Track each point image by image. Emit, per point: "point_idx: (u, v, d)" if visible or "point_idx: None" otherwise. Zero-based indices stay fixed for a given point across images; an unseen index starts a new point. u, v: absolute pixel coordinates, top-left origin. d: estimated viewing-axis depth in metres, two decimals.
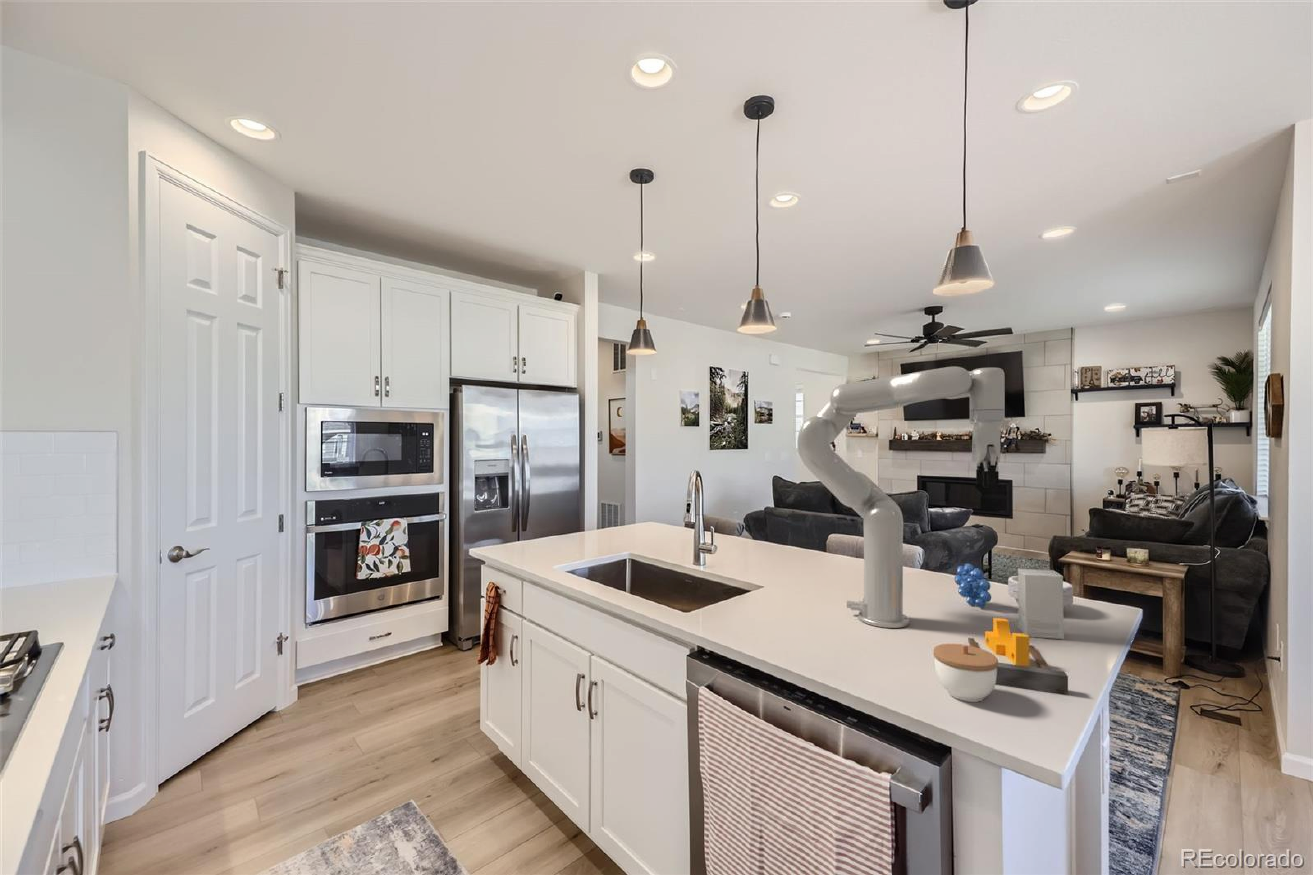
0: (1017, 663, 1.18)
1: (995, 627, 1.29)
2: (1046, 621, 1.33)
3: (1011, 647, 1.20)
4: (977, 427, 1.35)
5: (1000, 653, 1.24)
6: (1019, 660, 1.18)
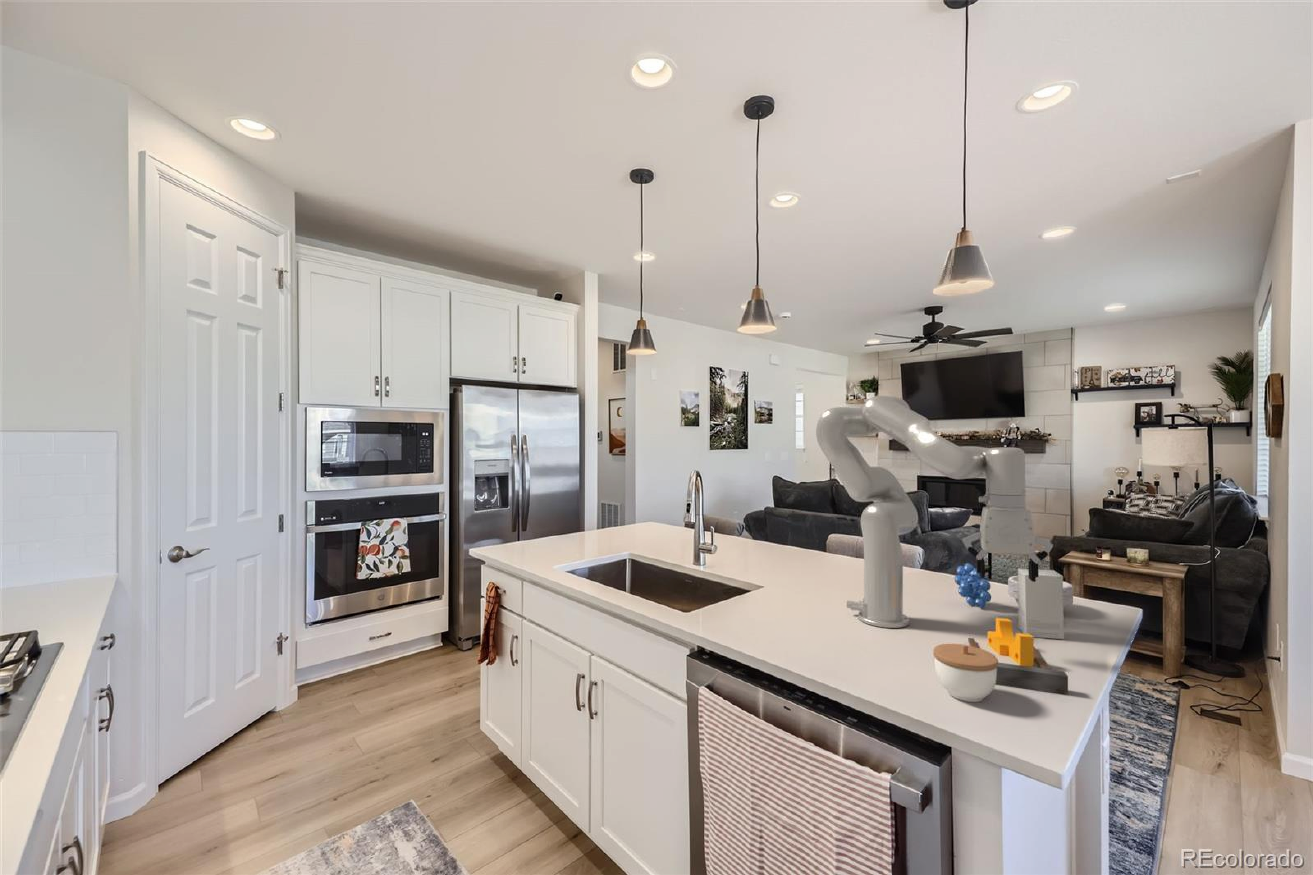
0: (1021, 663, 1.18)
1: (998, 627, 1.28)
2: (1046, 621, 1.33)
3: (1015, 648, 1.20)
4: (1024, 515, 1.20)
5: (1003, 653, 1.24)
6: (1023, 660, 1.18)
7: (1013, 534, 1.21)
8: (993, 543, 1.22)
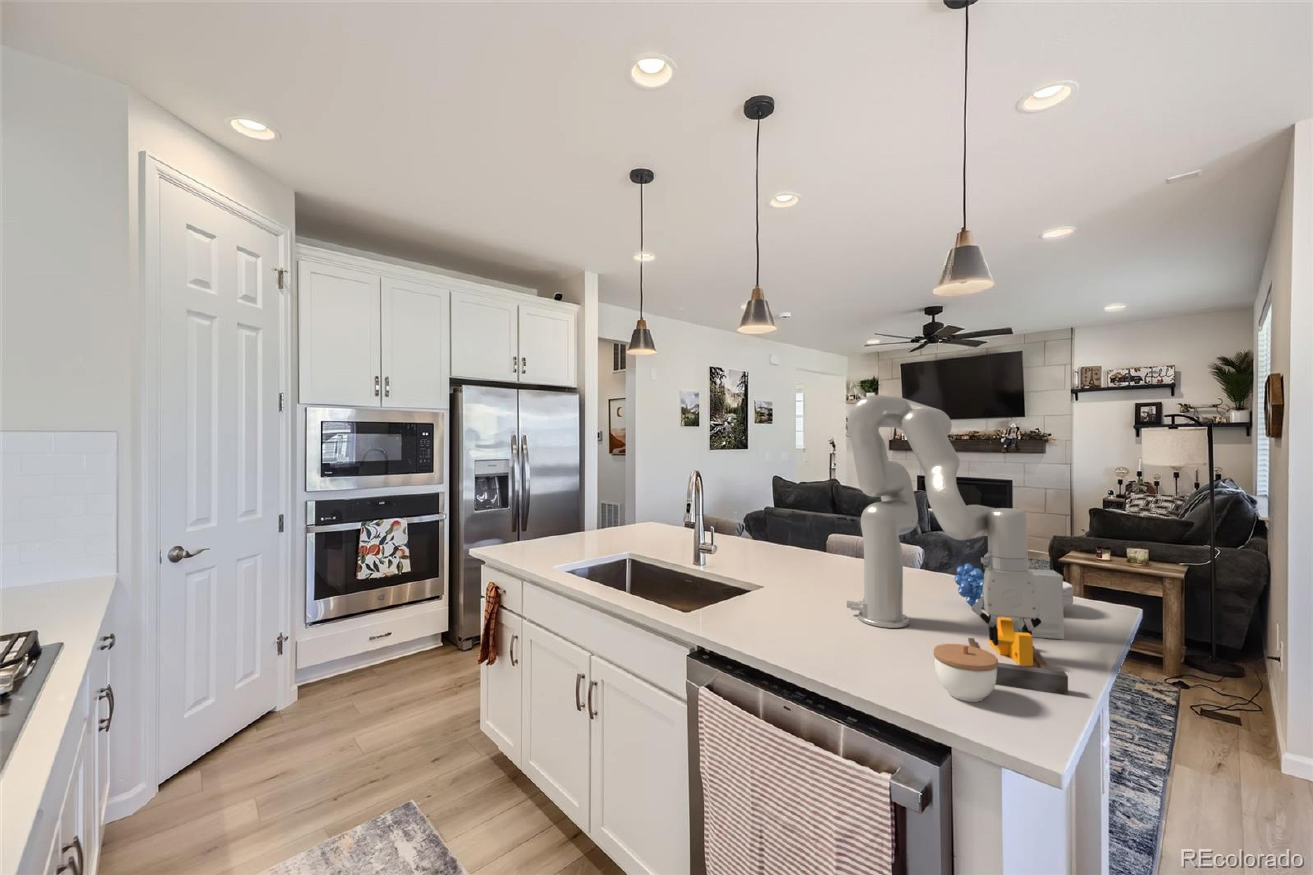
0: (1021, 662, 1.18)
1: (999, 626, 1.28)
2: (1046, 620, 1.33)
3: (1014, 647, 1.20)
4: (1027, 578, 1.20)
5: (1004, 652, 1.23)
6: (1023, 659, 1.18)
7: (1016, 597, 1.20)
8: (996, 606, 1.22)
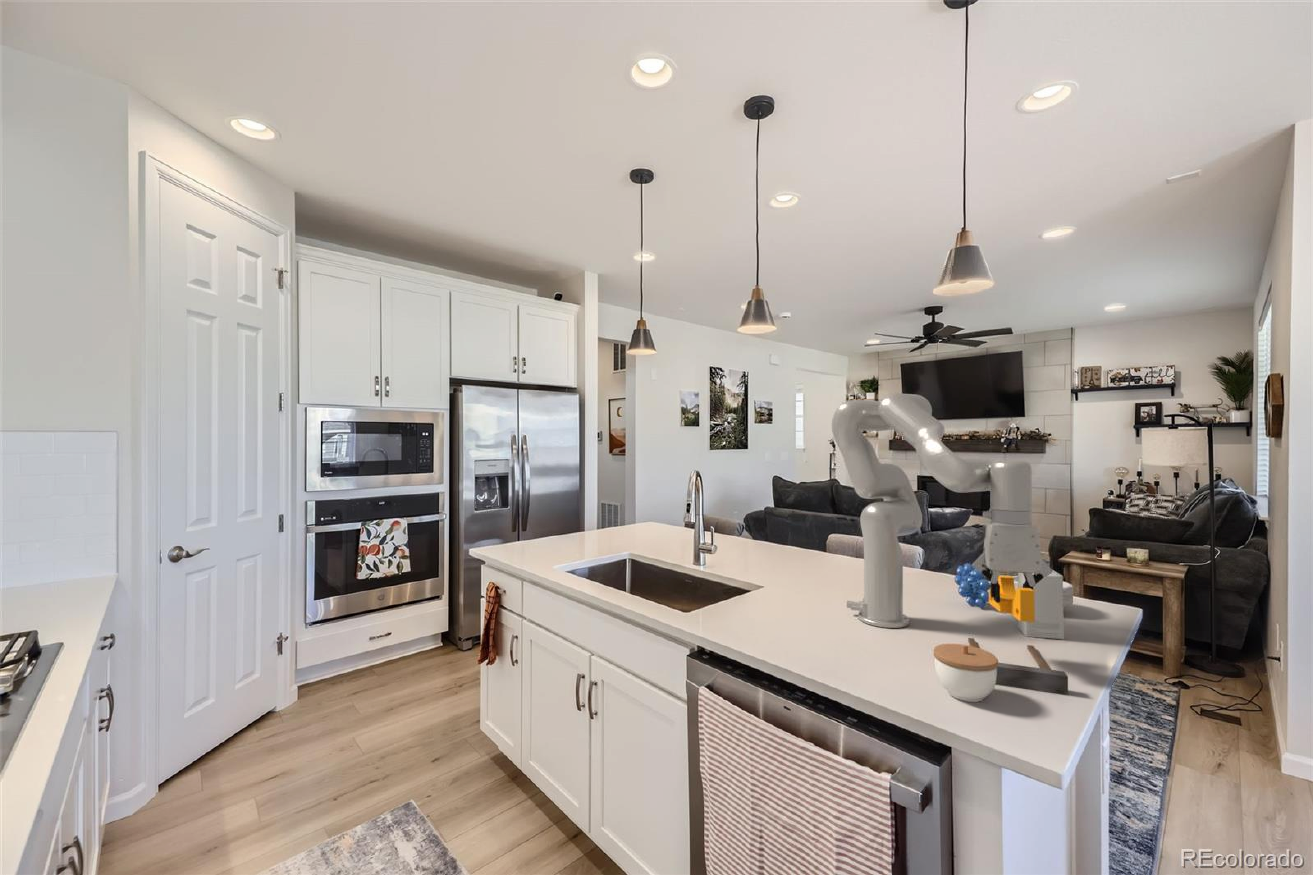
0: (1022, 618, 1.13)
1: None
2: (1046, 621, 1.33)
3: (1015, 603, 1.15)
4: (1031, 531, 1.15)
5: (1004, 610, 1.19)
6: (1024, 615, 1.13)
7: (1019, 551, 1.16)
8: (998, 561, 1.17)
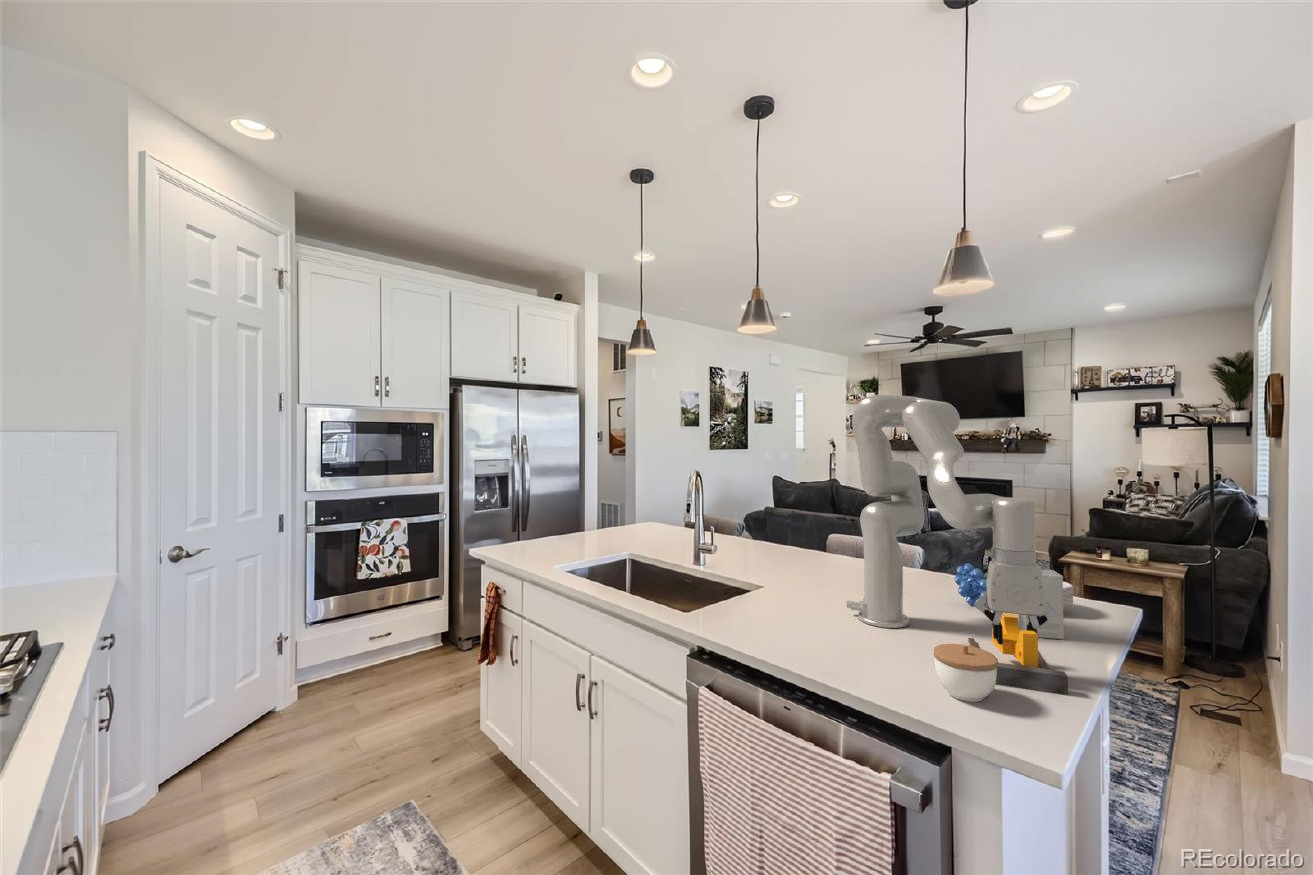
0: (1024, 662, 1.10)
1: (1003, 624, 1.20)
2: (1046, 621, 1.33)
3: (1018, 646, 1.12)
4: (1034, 572, 1.12)
5: (1007, 651, 1.16)
6: (1027, 659, 1.10)
7: (1022, 593, 1.12)
8: (1000, 602, 1.14)
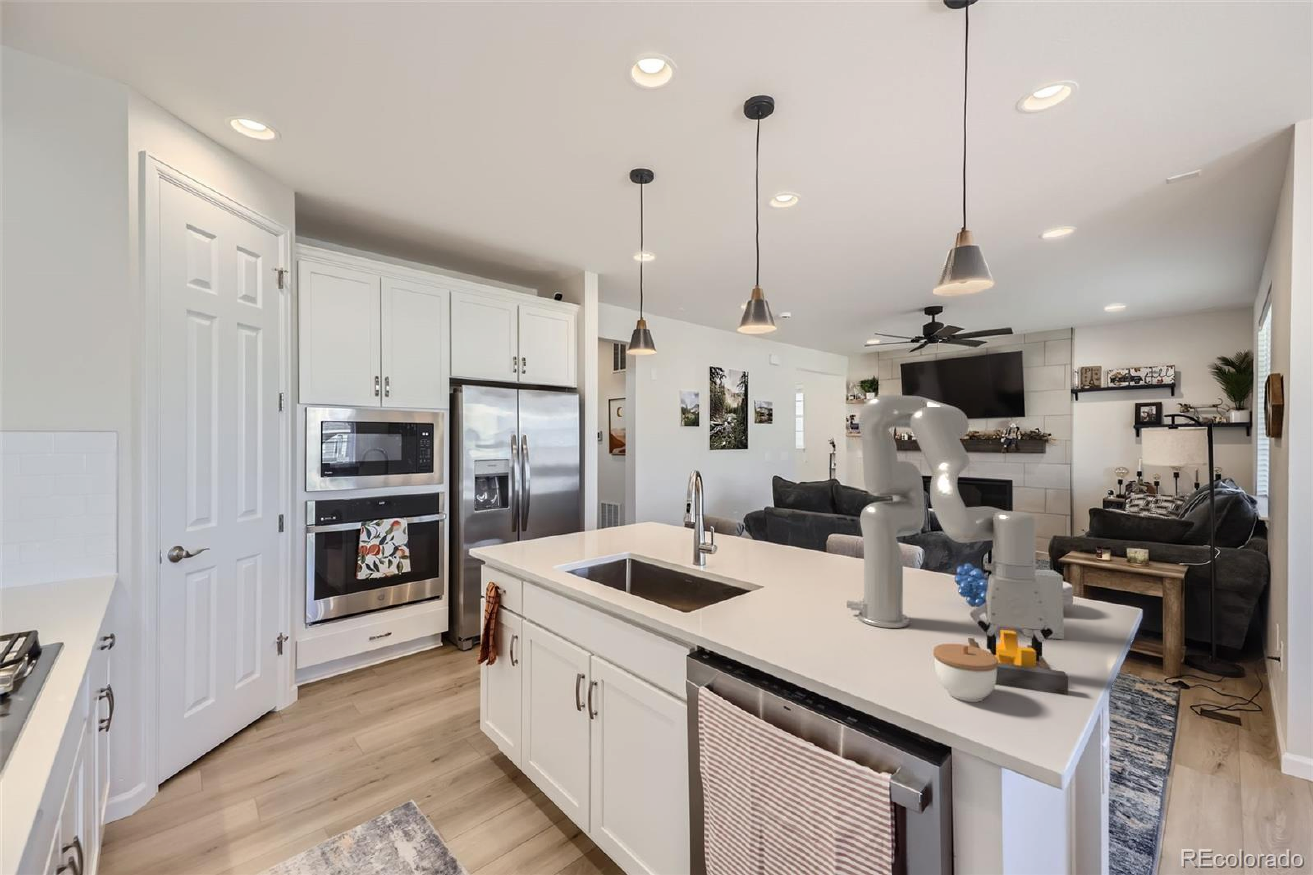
0: None
1: (1002, 640, 1.21)
2: (1046, 621, 1.33)
3: (1016, 662, 1.13)
4: (1034, 587, 1.12)
5: None
6: None
7: (1022, 607, 1.12)
8: (1000, 616, 1.14)
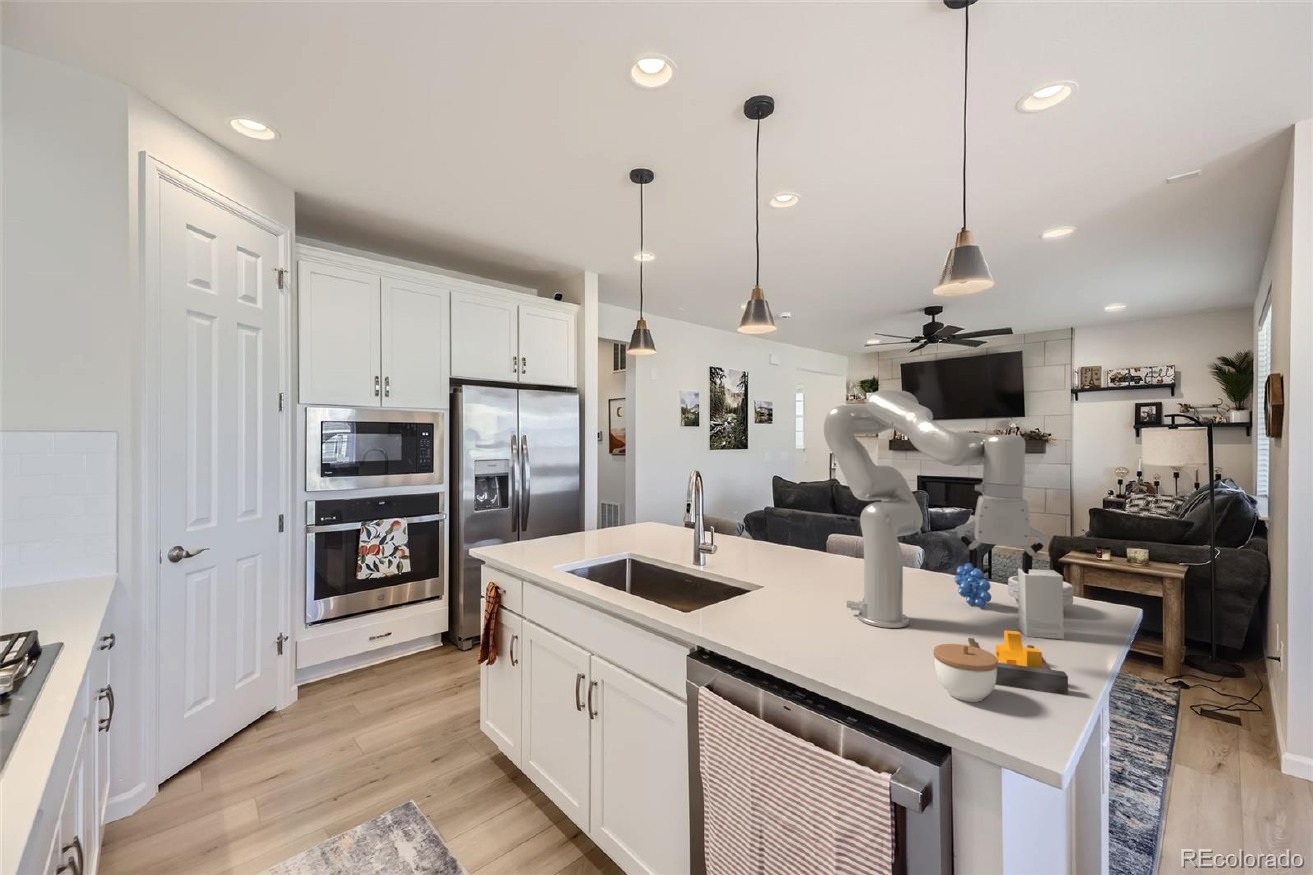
0: None
1: (1006, 640, 1.20)
2: (1046, 621, 1.33)
3: (1022, 663, 1.12)
4: (1021, 505, 1.16)
5: None
6: None
7: (1008, 525, 1.17)
8: (987, 533, 1.19)
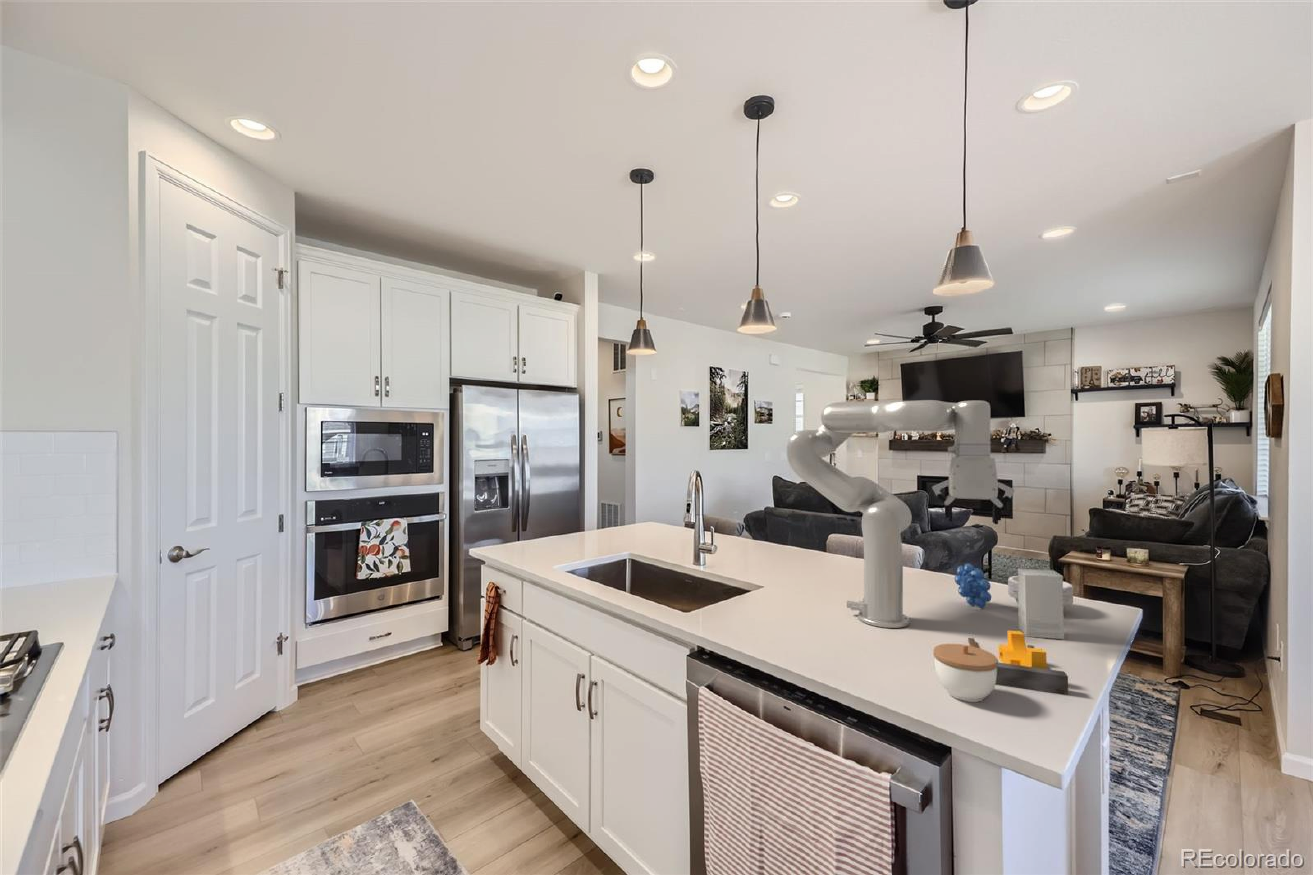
0: None
1: (1009, 640, 1.20)
2: (1046, 621, 1.33)
3: (1026, 663, 1.12)
4: (988, 462, 1.30)
5: None
6: None
7: (978, 480, 1.30)
8: (960, 489, 1.32)
